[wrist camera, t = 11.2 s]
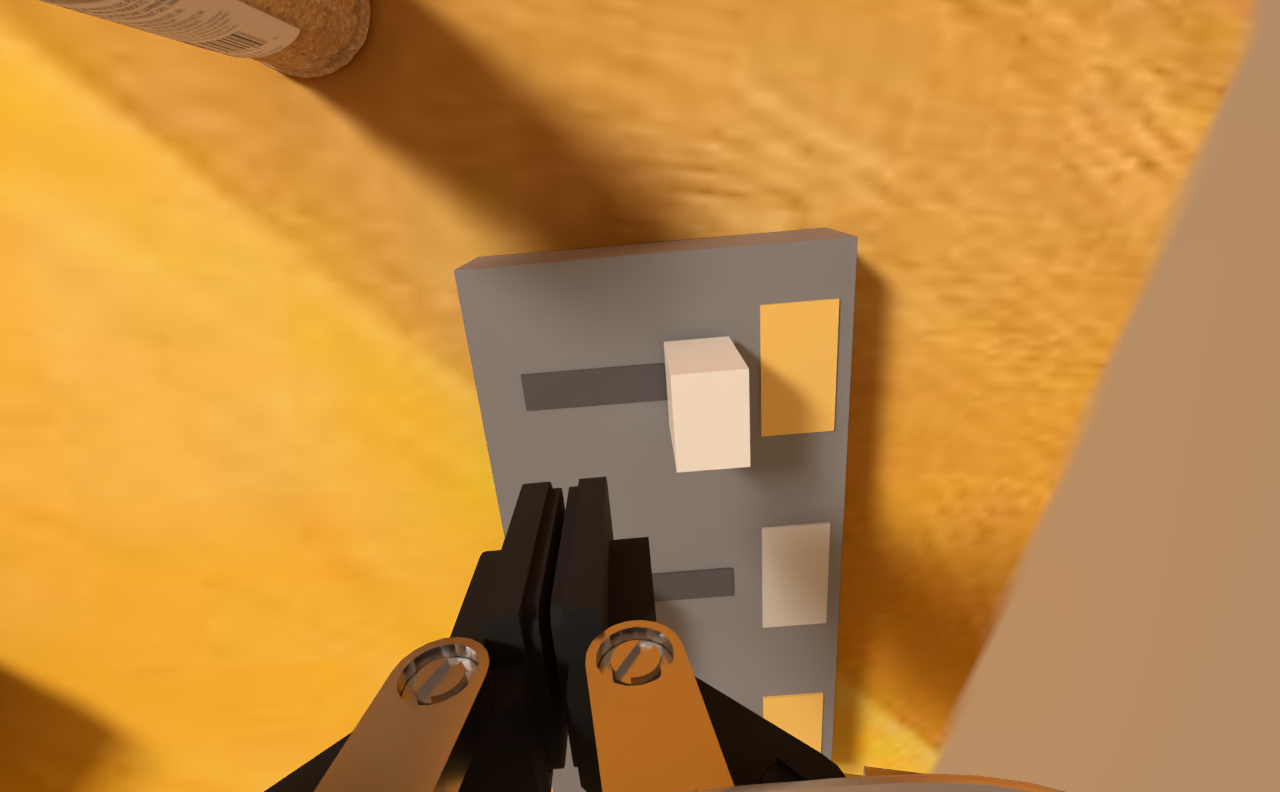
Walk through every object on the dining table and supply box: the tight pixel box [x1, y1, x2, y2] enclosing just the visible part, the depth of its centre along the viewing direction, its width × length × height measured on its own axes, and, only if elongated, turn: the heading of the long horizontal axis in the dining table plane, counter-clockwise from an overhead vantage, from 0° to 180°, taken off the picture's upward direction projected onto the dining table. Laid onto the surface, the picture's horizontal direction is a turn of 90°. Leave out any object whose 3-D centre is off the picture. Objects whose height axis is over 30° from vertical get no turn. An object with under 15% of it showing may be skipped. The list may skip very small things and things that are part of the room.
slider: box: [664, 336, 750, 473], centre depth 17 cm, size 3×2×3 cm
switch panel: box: [454, 228, 858, 792], centre depth 23 cm, size 24×12×3 cm, turn 5°
